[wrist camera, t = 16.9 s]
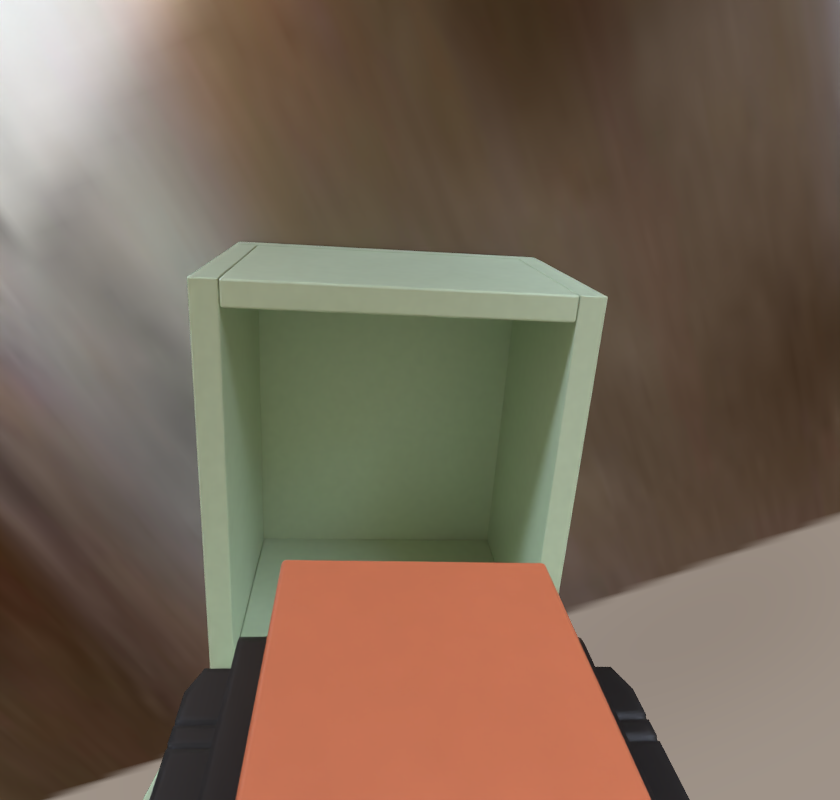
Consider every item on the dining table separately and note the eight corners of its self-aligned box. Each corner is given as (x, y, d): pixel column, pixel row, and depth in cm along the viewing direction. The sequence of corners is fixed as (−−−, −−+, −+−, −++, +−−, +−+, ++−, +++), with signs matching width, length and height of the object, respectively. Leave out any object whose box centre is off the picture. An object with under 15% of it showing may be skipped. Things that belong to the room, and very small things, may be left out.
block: (281, 557, 11) (230, 817, 7) (545, 560, 11) (656, 805, 7) (282, 758, 12) (240, 1073, 8) (512, 753, 13) (588, 1048, 9)
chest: (238, 241, 27) (186, 276, 19) (534, 257, 28) (608, 296, 20) (248, 544, 32) (210, 677, 24) (499, 544, 33) (546, 671, 25)
